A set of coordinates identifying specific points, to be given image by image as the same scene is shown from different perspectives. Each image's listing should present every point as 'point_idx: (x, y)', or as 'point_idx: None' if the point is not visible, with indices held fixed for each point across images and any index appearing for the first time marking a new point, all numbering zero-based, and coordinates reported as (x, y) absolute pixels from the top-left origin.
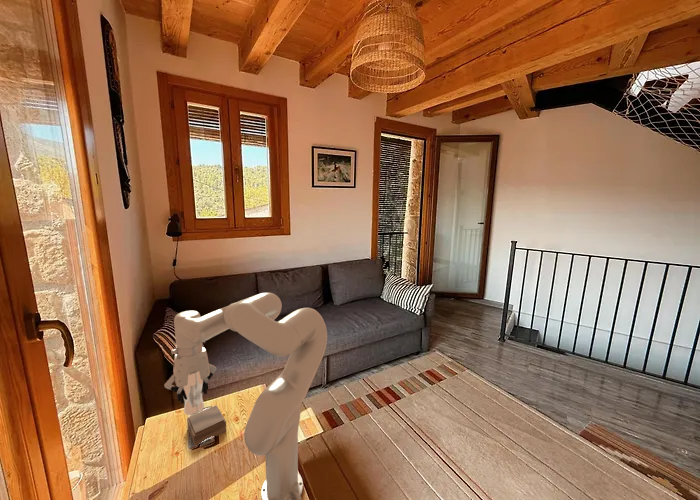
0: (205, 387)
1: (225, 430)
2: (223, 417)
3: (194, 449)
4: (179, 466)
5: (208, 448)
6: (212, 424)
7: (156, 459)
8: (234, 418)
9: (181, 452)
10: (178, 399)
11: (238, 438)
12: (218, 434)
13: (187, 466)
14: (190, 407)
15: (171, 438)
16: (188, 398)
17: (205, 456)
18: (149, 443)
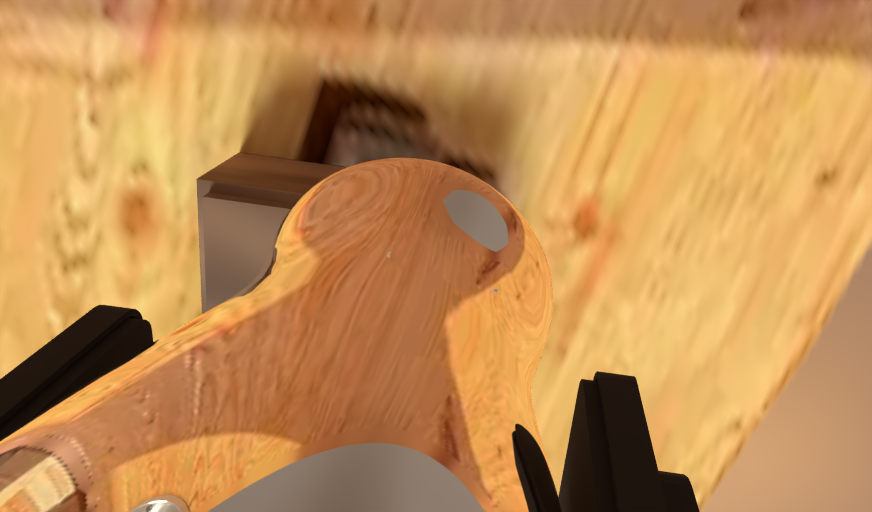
0: (2, 405)
1: (241, 156)
2: (200, 236)
3: (483, 162)
4: (625, 85)
5: (403, 90)
6: None
7: (708, 276)
8: (150, 230)
9: (562, 206)
10: (692, 504)
11: (186, 4)
12: (297, 161)
13: (584, 38)
14: (482, 253)
15: (561, 381)
16: (493, 368)
17: (448, 27)
18: (680, 442)
